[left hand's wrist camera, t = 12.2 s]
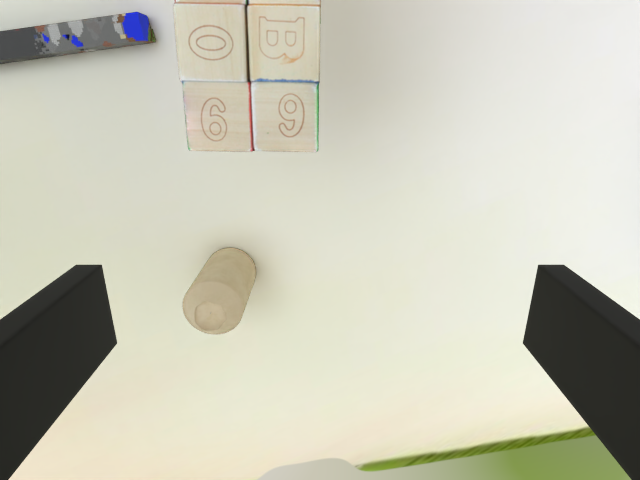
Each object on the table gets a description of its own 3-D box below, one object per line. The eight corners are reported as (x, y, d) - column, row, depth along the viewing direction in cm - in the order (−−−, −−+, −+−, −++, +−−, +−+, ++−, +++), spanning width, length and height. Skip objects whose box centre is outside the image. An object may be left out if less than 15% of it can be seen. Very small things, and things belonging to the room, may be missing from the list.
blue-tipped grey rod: (-82, 43, 36) (141, 11, 35) (-61, 45, 38) (150, 15, 37) (-71, 69, 37) (147, 39, 36) (-51, 70, 39) (157, 41, 38)
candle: (206, 245, 45) (176, 286, 35) (257, 249, 45) (240, 291, 36) (206, 290, 47) (178, 341, 37) (255, 294, 47) (239, 345, 38)
